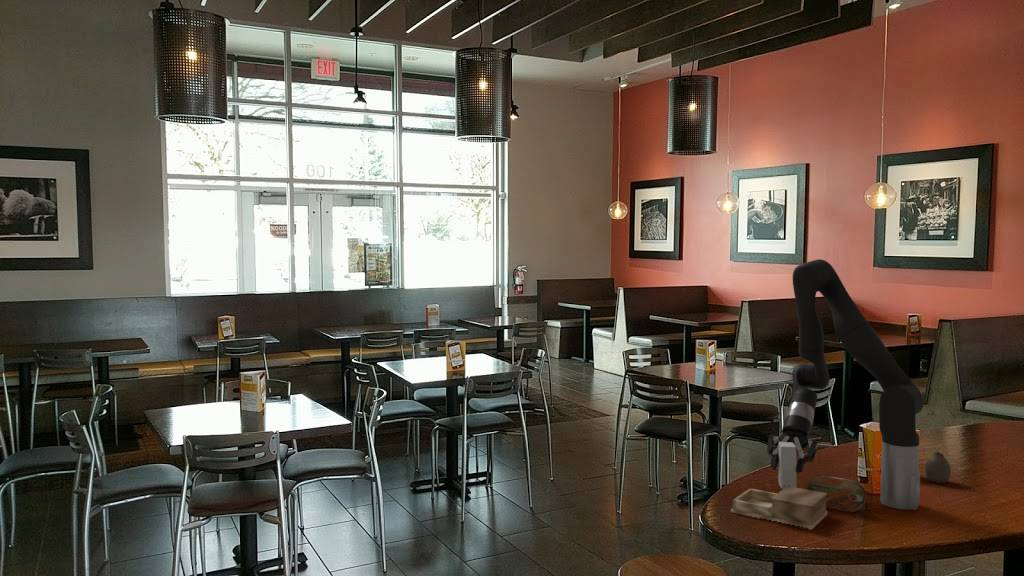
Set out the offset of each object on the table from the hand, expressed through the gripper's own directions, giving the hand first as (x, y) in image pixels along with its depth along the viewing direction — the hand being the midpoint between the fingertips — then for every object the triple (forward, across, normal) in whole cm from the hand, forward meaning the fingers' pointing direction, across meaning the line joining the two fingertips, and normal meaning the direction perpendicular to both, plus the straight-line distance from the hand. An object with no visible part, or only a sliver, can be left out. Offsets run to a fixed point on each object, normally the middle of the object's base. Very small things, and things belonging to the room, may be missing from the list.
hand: (785, 470), depth 215 cm
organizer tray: (+15, +3, -4) cm, 16 cm away
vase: (-24, +31, +37) cm, 54 cm away
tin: (+6, +14, +6) cm, 16 cm away
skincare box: (+3, 0, +5) cm, 5 cm away
